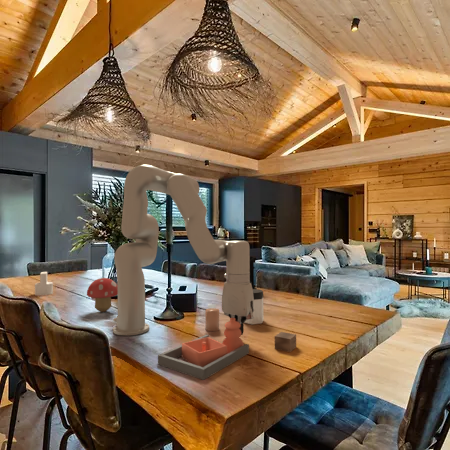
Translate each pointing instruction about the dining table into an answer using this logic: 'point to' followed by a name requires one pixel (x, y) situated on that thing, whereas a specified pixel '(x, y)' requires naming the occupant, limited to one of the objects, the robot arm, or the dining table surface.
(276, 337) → the metal block
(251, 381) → the dining table surface
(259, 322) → the jar
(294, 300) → the dining table surface
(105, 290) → the decorative mushroom
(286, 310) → the dining table surface
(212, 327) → the beige rounded cylinder
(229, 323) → the pottery
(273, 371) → the dining table surface
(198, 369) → the corral
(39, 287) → the white stepped block
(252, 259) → the chess piece
